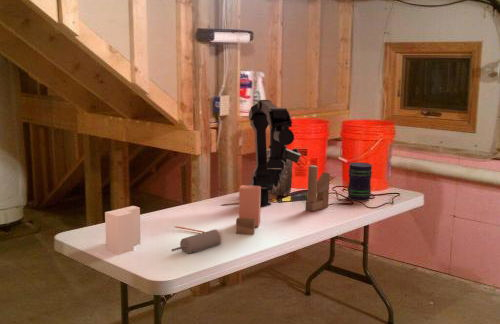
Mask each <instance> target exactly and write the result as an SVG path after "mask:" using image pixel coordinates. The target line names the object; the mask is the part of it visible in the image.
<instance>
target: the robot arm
mask: <svg viewBox="0 0 500 324" xmlns="http://www.w3.org/2000/svg"><path fill="white" fill-rule="evenodd" d="M248 120H249V123H250V127H251V128H252V129H253V132H254V144H255V145H254V146H255V148H254V150H255V167H254V170H253V171H252V176H251V178H250V181H249V184H248V185H250V186H261V207H264V206H269V205H270V206H271V205H272V203H271V202H269V197H270V195H269V193H268V190H272V188H273V184H274V186H275V187H277V186H278V182H280V178H281V173H282V171H283V170H284V167H285V165H286V164H287V163H285V162H287V159H288V160H291V161H293V163H295V164H298V163H299V161H300V157H301V155H302V154H301V153H300V152H299V150H298V149H297V148H296V147H295V148H293V149H292V150H291V149H289V148H288V147H287V146H289V145H291V144H292V143H293V142H294V140H295V134H294V132H293V130H292V129H290V128H292V127H293V125H292V124H293V122H292V121H293V120H292V118H291V115H290V112H289V111H288V109H287V108H286V107H280V106H279V107H278V106H277V105H275V104H274V103H273V102H272V101H271V100H270V99H259V100H257V102H256V104H254V105H253V106H251V107H250V109H249V112H248ZM268 126H269V145H268V149H270V156H269V161H268V162H267V129H268ZM284 161H285V162H284Z"/></svg>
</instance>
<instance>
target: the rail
mask: <svg viewBox="0 0 500 324" xmlns="http://www.w3.org/2000/svg"><path fill="white" fill-rule="evenodd" d="M235 226H236V227H235V234H237V235H249V236H250V235H251V236H254V234H255V231H256V230H255V229H256V227H255V219H253V218H239V217H237V218H236V220H235Z"/></svg>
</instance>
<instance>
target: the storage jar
mask: <svg viewBox="0 0 500 324" xmlns="http://www.w3.org/2000/svg"><path fill="white" fill-rule="evenodd" d="M348 167H349V168H348V177H349V179H348V185H347V199H349V200H353V201H360V202H361V201H365V202H366V201H369V200H371V194H372V190H371V189H372V186H371V179H372V176H373V175H372V174H373V171H372V170H373V168H372V167H373V165H372V164H371V163H370V162H369V163H368V162H357V161H356V162H350V163H349V164H348Z"/></svg>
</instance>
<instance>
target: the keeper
mask: <svg viewBox="0 0 500 324" xmlns="http://www.w3.org/2000/svg"><path fill="white" fill-rule="evenodd" d="M238 191H239V192H238V194H239V196H238V200H239V201H238V203H239V204H238V218H253V219H255V228H257V227H259V226H260V224H261V207H262V206H261V186H250V185H249V184H248V185H247V184H246V185H245V184H241V185H240V186H239V189H238Z"/></svg>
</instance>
